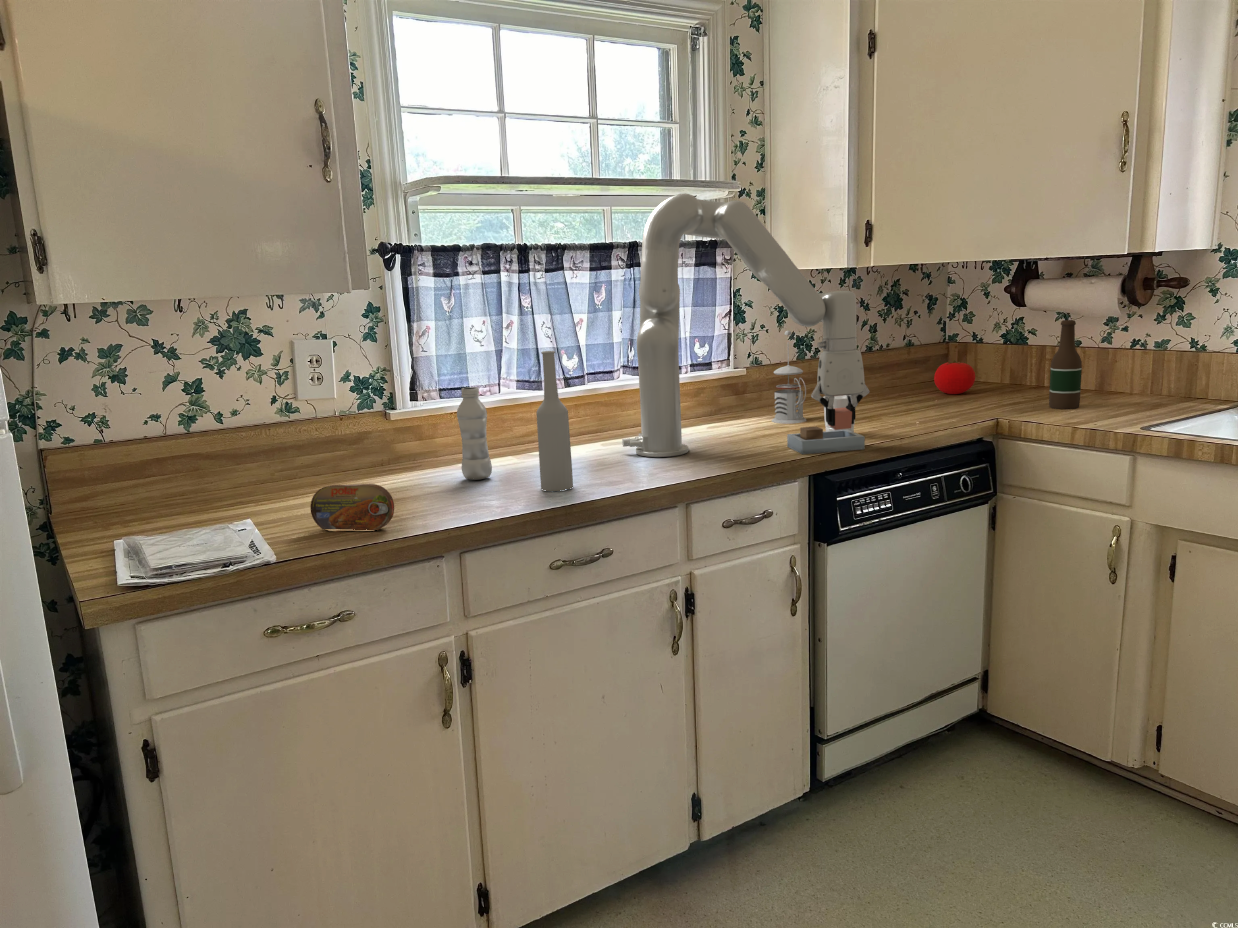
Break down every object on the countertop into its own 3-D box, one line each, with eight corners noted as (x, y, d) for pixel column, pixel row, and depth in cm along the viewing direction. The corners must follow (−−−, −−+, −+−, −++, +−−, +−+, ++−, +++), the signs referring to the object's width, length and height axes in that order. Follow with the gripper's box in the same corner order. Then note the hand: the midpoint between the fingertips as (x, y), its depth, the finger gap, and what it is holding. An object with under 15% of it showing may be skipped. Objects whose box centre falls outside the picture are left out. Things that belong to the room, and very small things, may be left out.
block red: (835, 429, 211) (835, 413, 210) (828, 425, 215) (828, 408, 214) (851, 428, 212) (852, 411, 210) (844, 423, 215) (845, 407, 214)
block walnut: (806, 447, 210) (806, 430, 209) (800, 444, 214) (800, 427, 213) (823, 446, 210) (822, 429, 210) (816, 443, 214) (816, 426, 213)
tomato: (930, 392, 295) (931, 359, 292) (969, 390, 293) (970, 358, 291) (938, 396, 284) (939, 363, 282) (979, 395, 282) (980, 361, 280)
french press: (792, 416, 260) (791, 328, 255) (818, 421, 250) (817, 330, 245) (764, 420, 256) (762, 331, 251) (788, 425, 246) (787, 332, 241)
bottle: (552, 493, 182) (542, 353, 176) (535, 488, 187) (525, 352, 181) (579, 487, 185) (571, 350, 180) (562, 482, 191) (553, 349, 185)
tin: (312, 532, 162) (306, 486, 160) (320, 527, 165) (315, 482, 163) (391, 532, 159) (386, 485, 158) (398, 527, 162) (394, 481, 161)
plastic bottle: (479, 483, 194) (472, 390, 190) (456, 481, 197) (447, 389, 193) (499, 477, 199) (492, 386, 195) (475, 475, 203) (468, 386, 199)
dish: (802, 454, 207) (802, 441, 207) (787, 446, 217) (787, 434, 216) (864, 449, 209) (864, 436, 209) (846, 441, 219) (846, 429, 219)
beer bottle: (1081, 405, 253) (1086, 319, 249) (1077, 410, 247) (1082, 321, 242) (1050, 404, 258) (1054, 319, 253) (1046, 409, 251) (1050, 321, 246)
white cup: (856, 438, 223) (856, 398, 220) (823, 439, 224) (823, 399, 222) (855, 433, 230) (855, 393, 228) (823, 433, 232) (823, 394, 230)
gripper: (811, 349, 204) (812, 429, 208) (881, 344, 206) (881, 423, 210) (799, 347, 211) (800, 425, 215) (867, 342, 214) (867, 418, 217)
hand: (840, 423), depth 213 cm, fingers closed on block red, 4 cm apart
